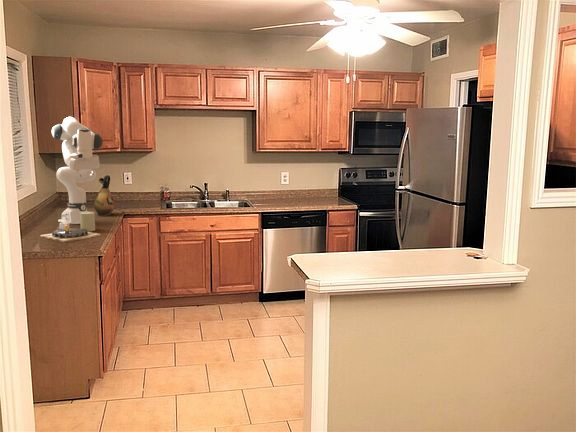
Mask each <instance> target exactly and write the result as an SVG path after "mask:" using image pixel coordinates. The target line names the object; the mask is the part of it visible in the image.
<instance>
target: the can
mask: <svg viewBox="0 0 576 432" xmlns="http://www.w3.org/2000/svg"><path fill="white" fill-rule="evenodd" d="M95 212H96V211H88V212H81V213H80V224H79V225H80V228H81V229H86V230H88V232H93V231H96V230H97V229H96V219H95V218H96V213H95Z"/></svg>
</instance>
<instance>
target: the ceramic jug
mask: <svg viewBox="0 0 576 432" xmlns="http://www.w3.org/2000/svg"><path fill="white" fill-rule="evenodd" d="M98 182H99V183H100V184H102V187H101V189H100V190H99V191H98V192H97V194H96V196H95V198H94V201H93V208H94V210H95V212H96V213H97V216H100V217H103V216H104V217H105V216H106V217H107V216H111V215H112V213H113V212H114V210H115V208H116V201H115V198H114V196H113V194H112V193H111V191H110V189H109V187H110V183H111V176H110V175H108V174H107V175H105V176H104V177H100V178H98Z"/></svg>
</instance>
